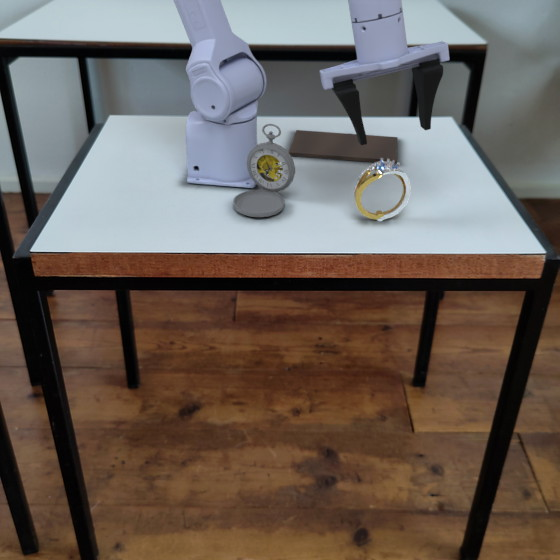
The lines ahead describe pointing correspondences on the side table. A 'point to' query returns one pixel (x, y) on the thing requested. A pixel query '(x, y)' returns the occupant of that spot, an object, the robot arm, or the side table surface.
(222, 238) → the side table surface
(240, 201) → the pocket watch
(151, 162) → the side table surface
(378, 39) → the robot arm
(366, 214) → the ring
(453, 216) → the side table surface
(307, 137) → the mat
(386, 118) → the side table surface
